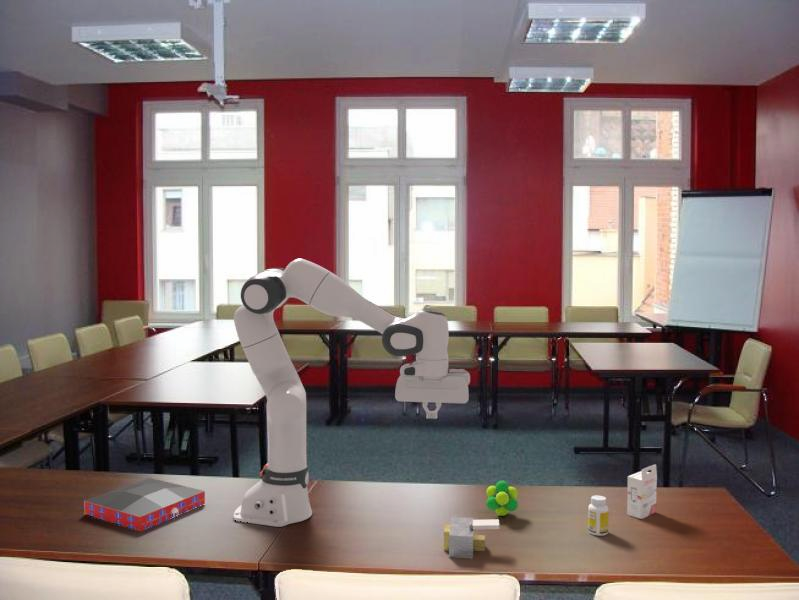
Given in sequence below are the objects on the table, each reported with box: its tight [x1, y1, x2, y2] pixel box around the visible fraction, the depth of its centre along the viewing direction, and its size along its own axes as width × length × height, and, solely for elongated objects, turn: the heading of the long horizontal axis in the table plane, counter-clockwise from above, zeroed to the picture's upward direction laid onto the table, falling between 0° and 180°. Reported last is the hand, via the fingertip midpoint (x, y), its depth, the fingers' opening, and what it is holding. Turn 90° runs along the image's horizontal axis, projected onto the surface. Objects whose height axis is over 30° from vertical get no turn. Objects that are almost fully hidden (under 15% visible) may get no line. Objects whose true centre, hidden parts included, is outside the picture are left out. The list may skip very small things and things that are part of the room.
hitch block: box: [448, 516, 475, 560], centre depth 185 cm, size 6×12×6 cm, turn 173°
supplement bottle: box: [587, 494, 610, 537], centre depth 195 cm, size 5×5×10 cm
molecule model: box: [485, 480, 519, 517], centre depth 207 cm, size 8×8×8 cm
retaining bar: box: [469, 518, 500, 530], centre depth 184 cm, size 1×4×8 cm
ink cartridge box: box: [626, 464, 658, 520], centre depth 209 cm, size 9×5×15 cm, turn 131°
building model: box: [83, 477, 206, 532], centre depth 210 cm, size 24×25×7 cm
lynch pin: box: [443, 523, 486, 552], centre depth 185 cm, size 10×5×5 cm, turn 83°
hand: (431, 418), depth 196 cm, fingers closed
